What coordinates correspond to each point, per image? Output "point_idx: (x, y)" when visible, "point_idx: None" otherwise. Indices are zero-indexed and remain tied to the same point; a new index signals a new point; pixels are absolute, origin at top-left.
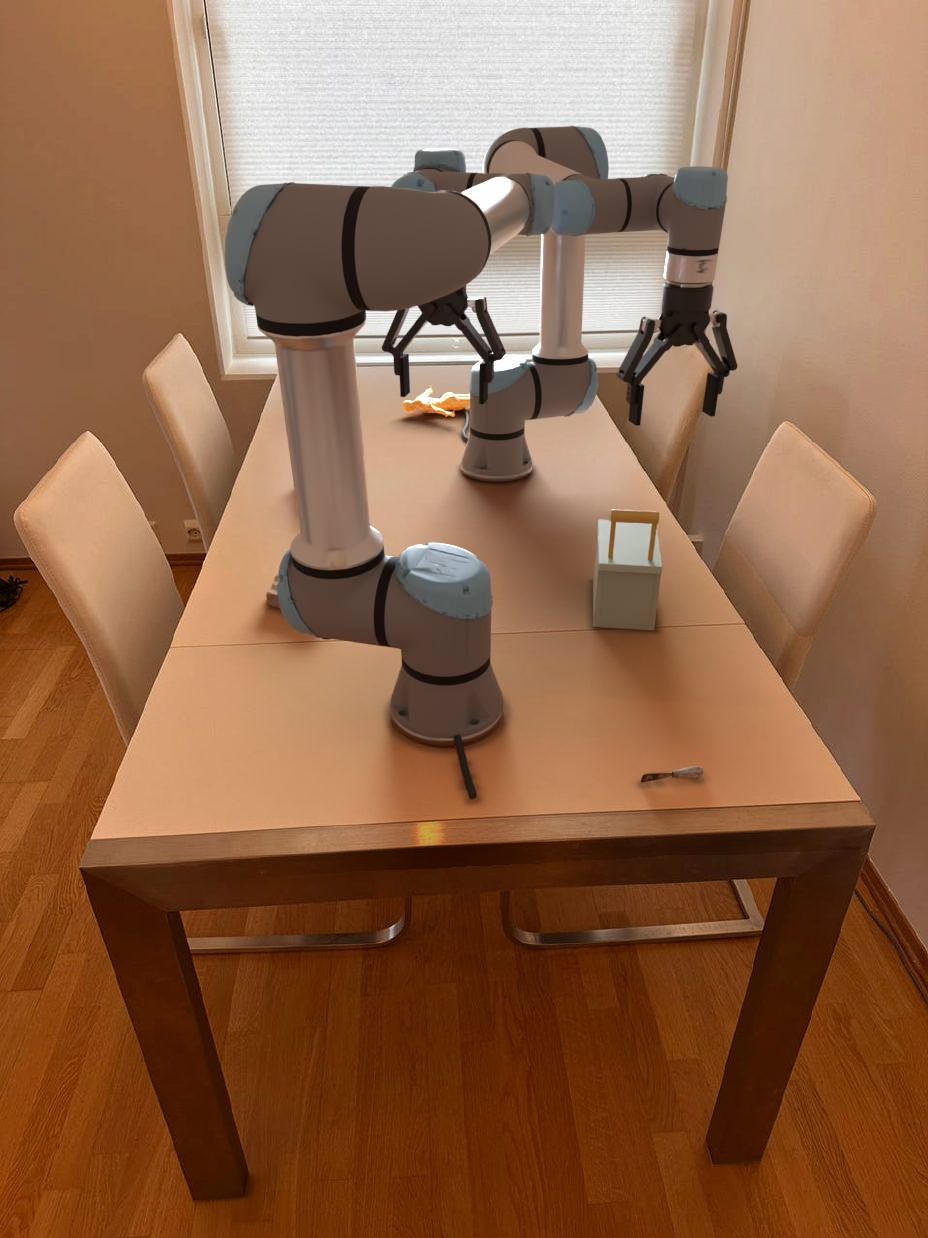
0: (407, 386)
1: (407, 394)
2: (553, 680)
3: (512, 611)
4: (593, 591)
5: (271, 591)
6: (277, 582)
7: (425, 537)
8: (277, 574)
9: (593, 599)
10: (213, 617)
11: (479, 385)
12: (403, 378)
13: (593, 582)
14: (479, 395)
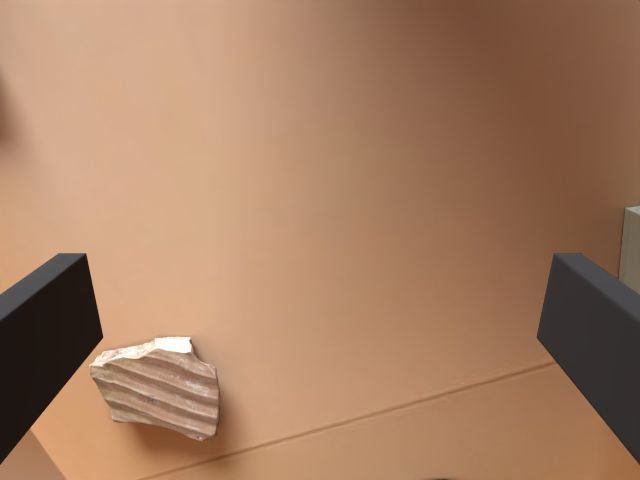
0: (69, 316)
1: (94, 295)
2: (551, 454)
3: (485, 330)
4: (624, 255)
5: (116, 415)
6: (107, 391)
7: (263, 116)
8: (91, 372)
9: (622, 280)
10: (69, 440)
11: (597, 411)
12: (38, 415)
13: (627, 225)
14: (561, 365)
